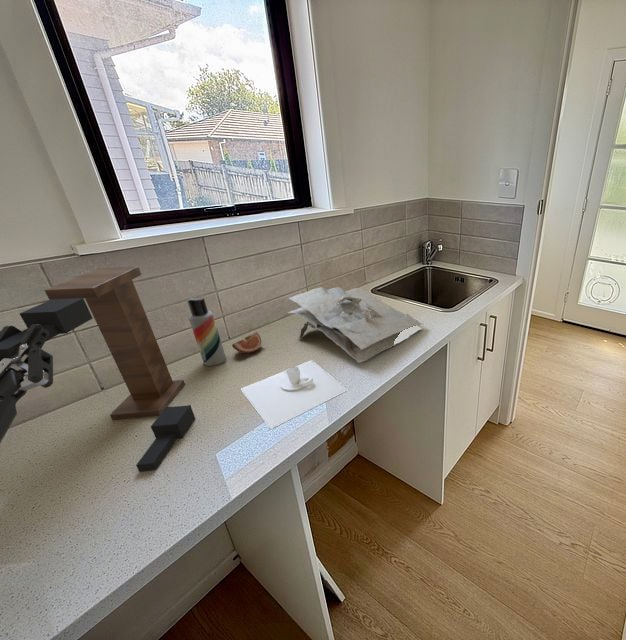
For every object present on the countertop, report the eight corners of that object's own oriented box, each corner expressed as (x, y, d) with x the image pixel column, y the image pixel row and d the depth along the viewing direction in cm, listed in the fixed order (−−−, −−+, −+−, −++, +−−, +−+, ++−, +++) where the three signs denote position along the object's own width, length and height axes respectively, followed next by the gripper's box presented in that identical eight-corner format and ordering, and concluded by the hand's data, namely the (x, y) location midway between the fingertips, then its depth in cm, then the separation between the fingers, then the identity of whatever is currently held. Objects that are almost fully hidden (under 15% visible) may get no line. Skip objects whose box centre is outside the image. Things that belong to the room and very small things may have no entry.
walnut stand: (157, 418, 77) (98, 287, 63) (109, 423, 75) (37, 290, 61) (187, 382, 89) (143, 266, 75) (146, 385, 88) (93, 267, 74)
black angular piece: (162, 469, 64) (154, 454, 63) (133, 472, 64) (125, 457, 62) (195, 418, 77) (190, 405, 75) (171, 420, 76) (166, 407, 74)
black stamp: (21, 359, 48) (6, 334, 46) (-20, 362, 47) (-36, 337, 46) (93, 318, 61) (83, 297, 59) (61, 320, 60) (51, 299, 58)
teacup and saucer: (318, 383, 89) (316, 371, 87) (289, 397, 84) (286, 383, 82) (303, 370, 94) (300, 357, 93) (275, 382, 89) (272, 369, 88)
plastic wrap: (430, 310, 114) (363, 337, 89) (420, 349, 121) (356, 384, 96) (358, 273, 129) (285, 288, 105) (354, 310, 137) (284, 331, 112)
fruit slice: (243, 360, 99) (239, 346, 97) (229, 355, 101) (224, 340, 99) (267, 347, 105) (264, 333, 103) (253, 342, 108) (249, 329, 106)
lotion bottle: (199, 364, 97) (177, 301, 88) (214, 354, 102) (195, 293, 93) (215, 367, 95) (194, 303, 87) (230, 357, 100) (212, 295, 92)
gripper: (-11, 426, 40) (59, 310, 50) (-154, 439, 38) (-53, 316, 48) (43, 443, 46) (96, 337, 56) (-78, 455, 44) (-2, 343, 54)
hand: (27, 328), depth 52 cm, fingers closed on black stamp, 3 cm apart
